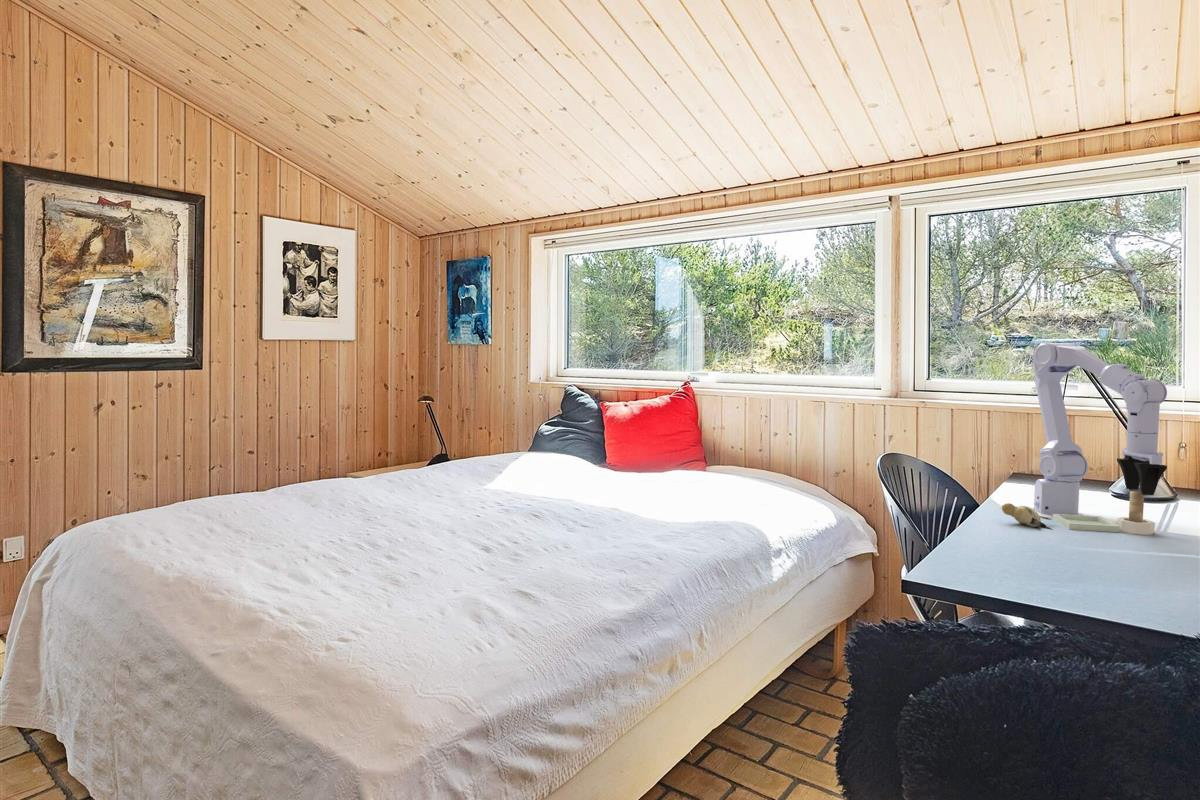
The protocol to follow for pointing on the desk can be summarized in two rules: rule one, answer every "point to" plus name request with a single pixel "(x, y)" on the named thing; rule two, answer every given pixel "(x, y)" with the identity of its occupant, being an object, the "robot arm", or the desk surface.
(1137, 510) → the dowel pin
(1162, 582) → the desk surface
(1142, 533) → the pin cup
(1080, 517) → the tray
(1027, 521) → the decorative bird model
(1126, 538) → the desk surface
